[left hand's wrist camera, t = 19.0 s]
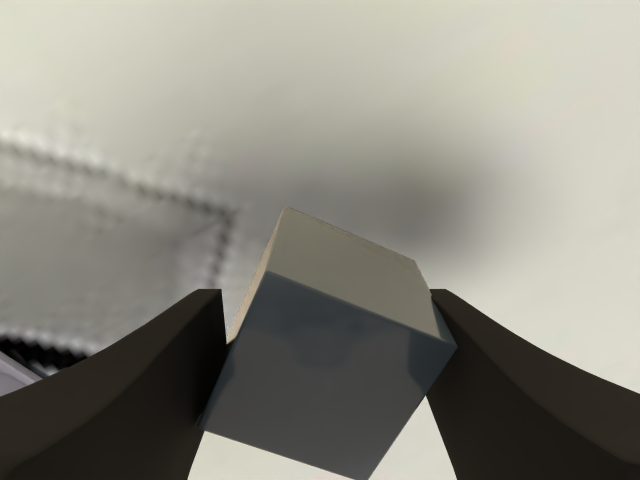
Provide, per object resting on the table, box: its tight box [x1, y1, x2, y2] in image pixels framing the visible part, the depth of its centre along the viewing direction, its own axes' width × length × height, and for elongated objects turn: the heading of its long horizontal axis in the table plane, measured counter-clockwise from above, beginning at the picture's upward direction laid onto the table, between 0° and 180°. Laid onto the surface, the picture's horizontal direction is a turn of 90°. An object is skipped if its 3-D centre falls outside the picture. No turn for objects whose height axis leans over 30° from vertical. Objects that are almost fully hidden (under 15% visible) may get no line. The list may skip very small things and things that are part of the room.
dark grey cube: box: [197, 206, 458, 480], centre depth 10 cm, size 4×4×4 cm
